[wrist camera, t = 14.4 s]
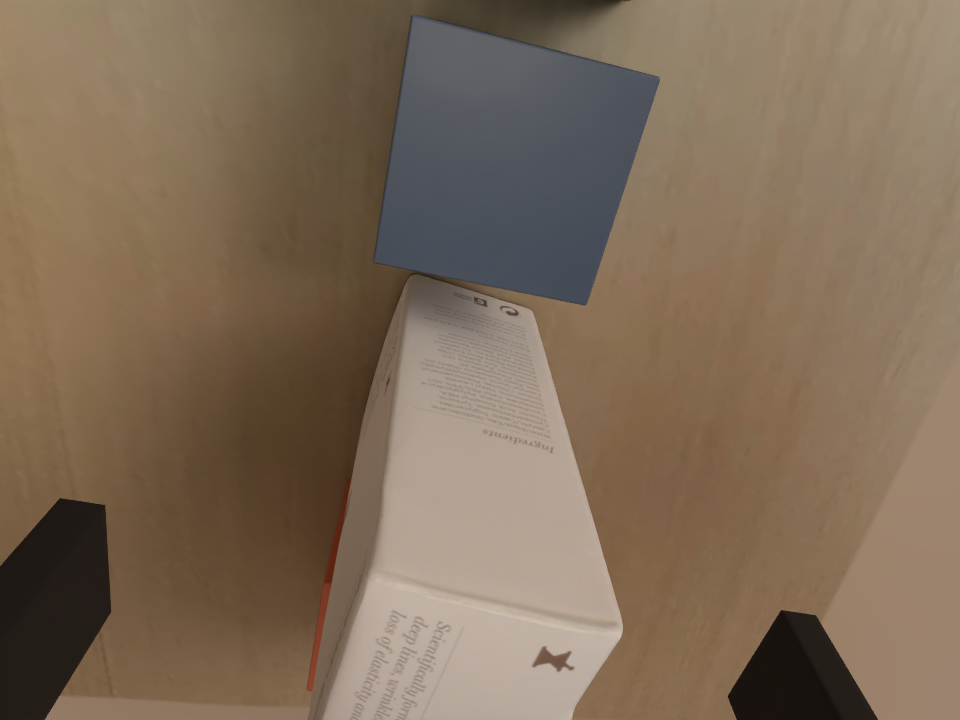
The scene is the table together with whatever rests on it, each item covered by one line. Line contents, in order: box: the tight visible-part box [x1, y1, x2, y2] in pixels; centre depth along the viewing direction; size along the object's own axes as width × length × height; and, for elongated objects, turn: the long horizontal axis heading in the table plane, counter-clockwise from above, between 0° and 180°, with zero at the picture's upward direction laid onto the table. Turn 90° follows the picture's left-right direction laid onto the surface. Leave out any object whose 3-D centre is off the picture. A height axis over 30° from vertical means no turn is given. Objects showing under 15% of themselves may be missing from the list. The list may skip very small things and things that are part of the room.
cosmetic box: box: [308, 274, 623, 720], centre depth 16 cm, size 6×4×12 cm
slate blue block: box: [373, 15, 660, 305], centre depth 16 cm, size 5×5×5 cm
